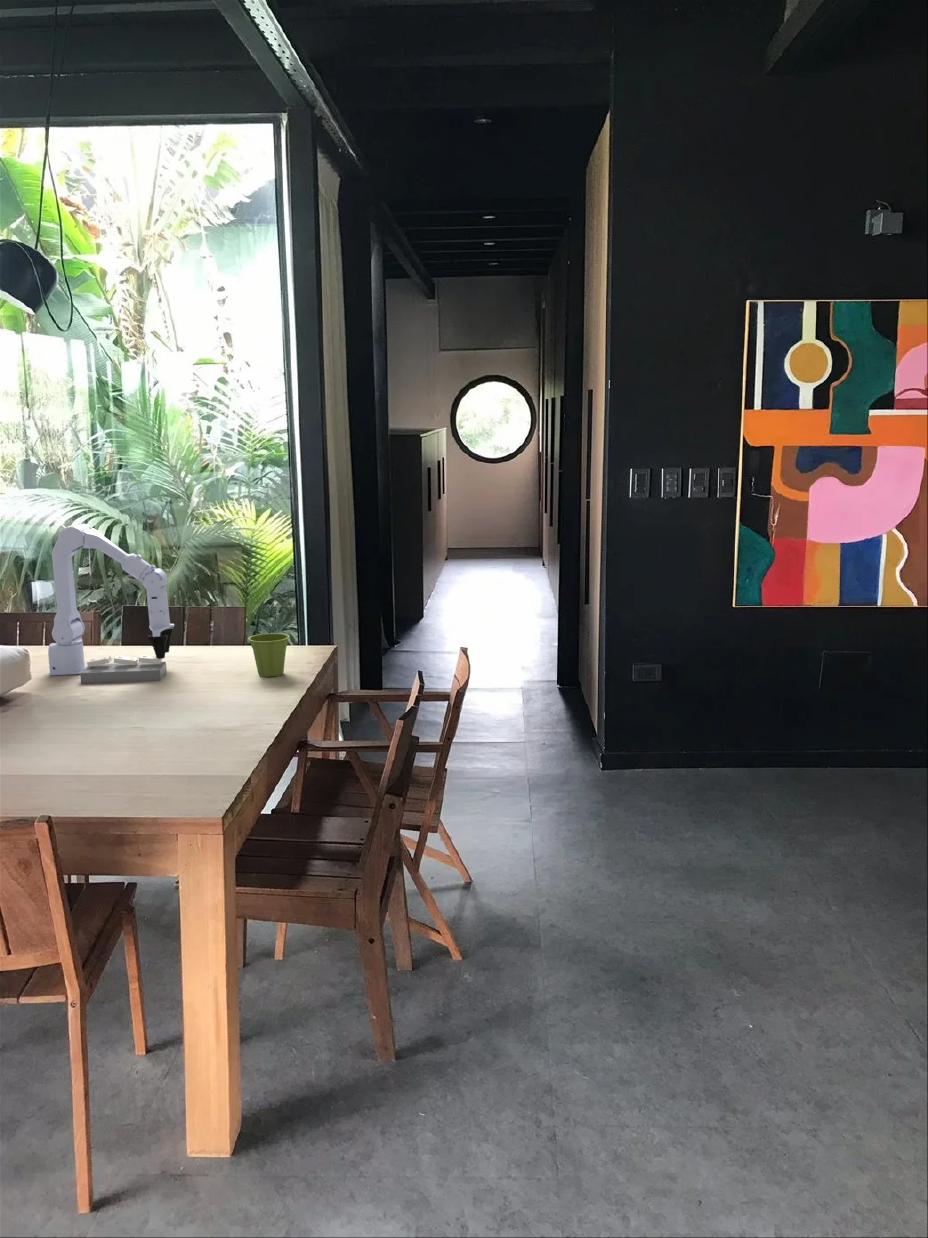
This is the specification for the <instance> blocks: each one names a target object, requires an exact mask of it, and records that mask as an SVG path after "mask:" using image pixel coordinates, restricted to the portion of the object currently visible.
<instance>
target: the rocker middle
mask: <svg viewBox="0 0 928 1238" xmlns="http://www.w3.org/2000/svg"><path fill="white" fill-rule="evenodd" d="M118 663H119V664H128V665H136V664H137V663H139V657H135V656H134V657H133V656H127V655H125V656H124V655H116V656H115V657H114V658H113V664H118Z"/></svg>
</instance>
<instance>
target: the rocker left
mask: <svg viewBox="0 0 928 1238" xmlns="http://www.w3.org/2000/svg"><path fill="white" fill-rule="evenodd" d="M111 662H112V657H111V655H106V656H102V657H97V658H90V659H88V660H87V662H86V664H87V665H86V666H88V667H91V666H96V665H101V664H110V663H111Z"/></svg>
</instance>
